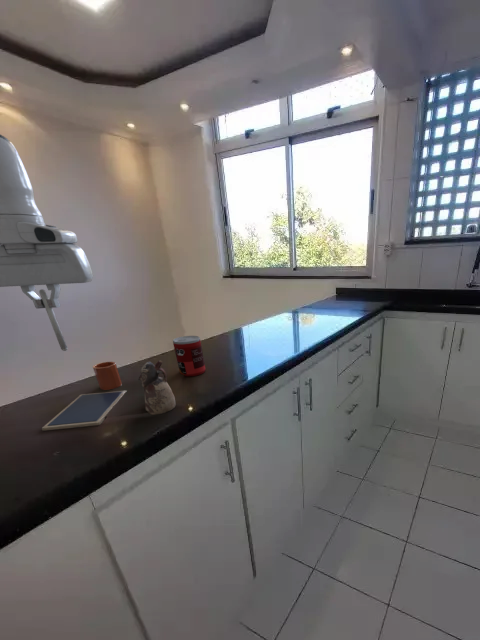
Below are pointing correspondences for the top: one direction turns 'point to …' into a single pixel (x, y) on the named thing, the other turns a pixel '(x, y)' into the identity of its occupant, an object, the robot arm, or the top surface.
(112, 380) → the pen cup
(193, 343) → the canned food
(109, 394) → the tablet
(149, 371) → the figurine
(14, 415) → the top surface
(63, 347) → the stylus
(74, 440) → the top surface
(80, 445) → the top surface
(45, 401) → the top surface
